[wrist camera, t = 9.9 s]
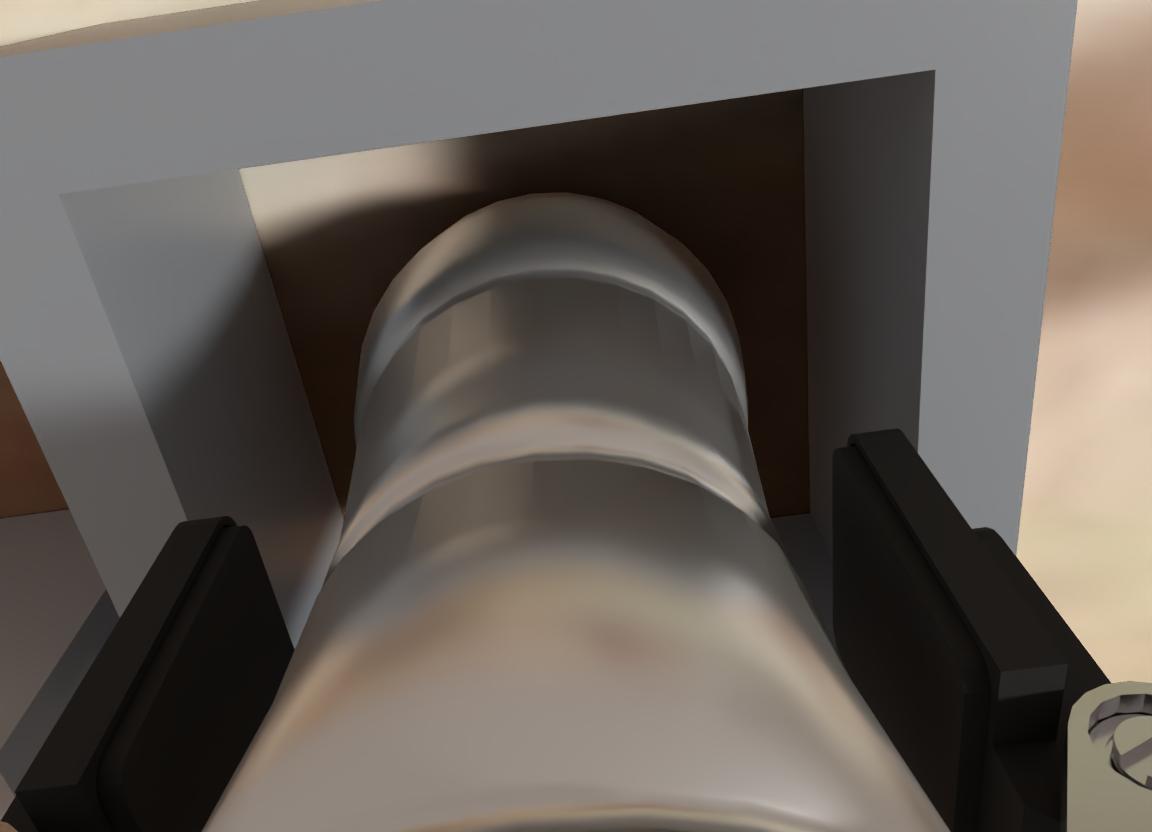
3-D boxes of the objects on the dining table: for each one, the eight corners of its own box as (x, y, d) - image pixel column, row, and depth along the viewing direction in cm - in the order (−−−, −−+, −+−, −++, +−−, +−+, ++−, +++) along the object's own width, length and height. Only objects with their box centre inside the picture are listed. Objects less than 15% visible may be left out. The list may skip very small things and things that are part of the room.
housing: (875, 660, 22) (1003, 941, 16) (-15, 769, 23) (-219, 1078, 17) (894, -94, 15) (1144, -108, 9) (-422, 101, 16) (-1055, 217, 9)
